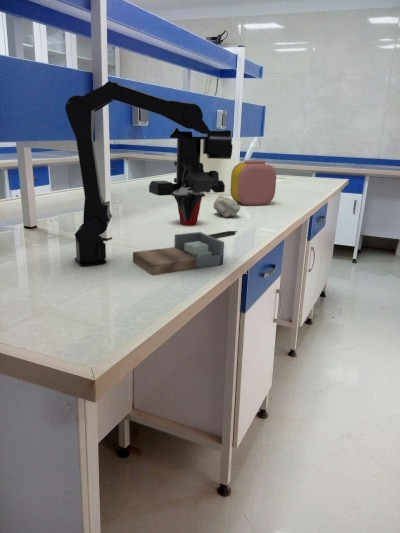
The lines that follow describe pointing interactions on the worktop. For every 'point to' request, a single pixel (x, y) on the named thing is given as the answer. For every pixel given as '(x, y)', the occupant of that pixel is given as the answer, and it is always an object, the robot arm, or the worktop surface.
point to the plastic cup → (193, 217)
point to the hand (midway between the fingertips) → (186, 221)
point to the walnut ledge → (164, 260)
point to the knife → (222, 234)
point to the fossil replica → (226, 206)
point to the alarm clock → (253, 183)
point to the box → (213, 243)
